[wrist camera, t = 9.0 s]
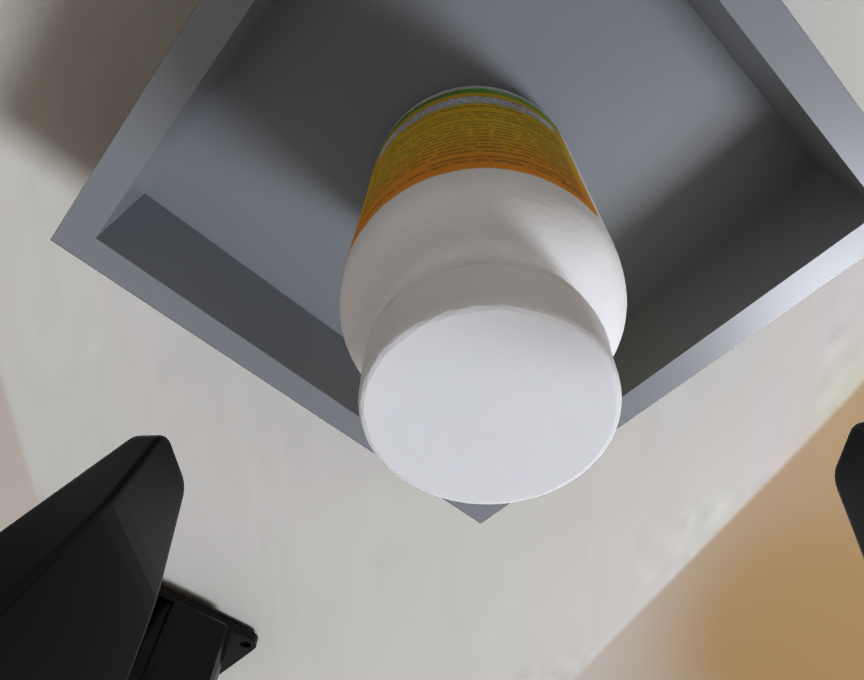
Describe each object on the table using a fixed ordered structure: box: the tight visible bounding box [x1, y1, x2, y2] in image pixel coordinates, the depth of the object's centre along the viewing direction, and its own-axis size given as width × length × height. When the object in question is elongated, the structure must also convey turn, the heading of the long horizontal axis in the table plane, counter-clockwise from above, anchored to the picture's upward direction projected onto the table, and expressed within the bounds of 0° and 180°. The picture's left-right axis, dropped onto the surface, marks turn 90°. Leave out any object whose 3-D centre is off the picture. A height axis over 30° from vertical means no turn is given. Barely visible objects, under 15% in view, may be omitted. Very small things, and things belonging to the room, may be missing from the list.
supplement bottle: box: [339, 86, 627, 504], centre depth 14 cm, size 5×5×10 cm
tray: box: [50, 0, 864, 523], centre depth 17 cm, size 15×15×4 cm
